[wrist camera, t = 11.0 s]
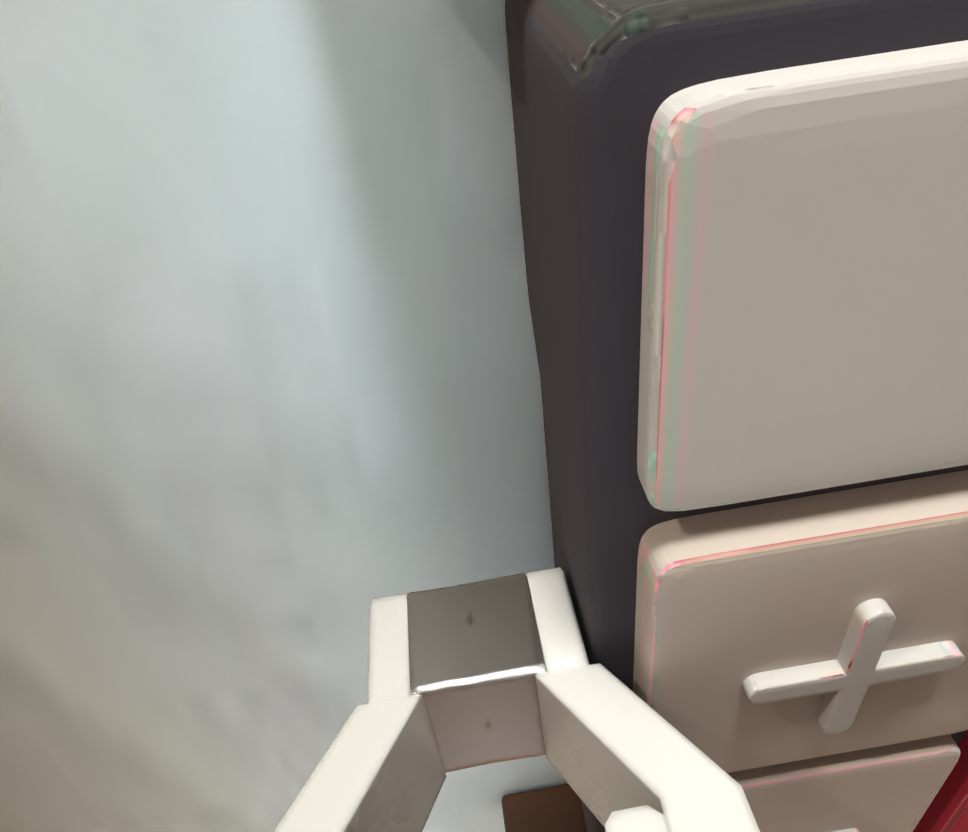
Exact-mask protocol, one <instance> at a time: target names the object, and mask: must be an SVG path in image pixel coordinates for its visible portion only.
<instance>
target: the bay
mask: <svg viewBox="0 0 968 832" xmlns="http://www.w3.org/2000/svg"><path fill="white" fill-rule="evenodd" d="M502 808H503V815H504V823H505V831H506V832H587V827H586V822H585V818H584V813H583V808H582V804H581V799H580V798H579V796H578V795H577V794H576V793H575V792H574V790H573V789H572V788H571V787H570V786H569V784H566V785H560V786H555V787H549V788H544V789H538V790H533V791H527V792H522V793H516V794H511V795H505V796H503V797H502Z"/></svg>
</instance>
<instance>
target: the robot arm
mask: <svg viewBox="0 0 968 832" xmlns="http://www.w3.org/2000/svg"><path fill="white" fill-rule="evenodd" d="M541 755H546V758H547V759H548V760H549V762H550V763H551V764H552V765H553V766H554V768H555V769H556V770H557V771H558V772H559V774H560V775H561V776H562V777H563V778H564V780H565V781H566V782H567V783H568V784H569V786H570V787H571V788H572V789H573V790H574V792H575V793H576V794H577V795H578V796H579V798H580V799H581V800H582V801H583V802H584V804H585V805H586V806H587V807H588V808H589V810H590V811H591V812H592V813H593V814H594V816H595V817H596V818H597V819H598V820H599V822H600V823H601V824H602V825H603V826H604V828H605V832H760V830H759V828H758V825H757V823H756V820H755V818H754V815H753V813H752V811H751V808H750V806H749V803H748V801H747V798H746V796H745V793H744V791H743V789H742V786H741V785H740V784H739V783H738V782H736V781H735V780H734V779H733V778H732V777H731V776H729V775H728V774H727V773H726V772H725V771H724V770H723V769H721V768H720V767H719V766H718V765H717V764H716V763H715V762H713V761H712V760H711V759H710V758H709V757H708V756H706V755H705V754H704V753H703V752H702V751H701V750H700V749H698V748H697V747H696V746H695V745H694V744H693V743H691V742H690V741H689V740H688V739H687V738H686V737H685V736H683V735H682V734H681V733H680V732H679V731H678V730H677V729H675V728H674V727H673V726H672V725H671V724H670V723H668V722H667V721H666V720H665V719H664V718H663V717H662V716H660V715H659V714H658V713H657V712H656V711H655V710H653V709H652V708H651V707H650V706H649V705H648V704H647V703H645V702H644V701H643V700H642V699H641V698H640V697H638V696H637V695H636V694H635V693H634V692H633V691H632V690H630V689H629V688H628V687H627V686H626V685H625V684H624V683H622V682H621V681H620V680H619V679H618V678H617V677H615V676H614V675H613V674H612V673H611V672H610V671H609V670H607V669H606V668H605V667H604V666H603V665H602V664H600V663H598V664H591V665H589V662H588V658H587V654H586V651H585V647H584V643H583V640H582V636H581V632H580V629H579V625H578V622H577V618H576V614H575V611H574V607H573V603H572V600H571V596H570V592H569V589H568V585H567V581H566V578H565V574H564V572H563V570H562V569H561V568H560V567H559V568H553V569H547V570H541V571H536V572H530V573H526V576H525V573H522V574H516V575H511V576H505V577H500V578H494V579H489V580H483V581H478V582H473V583H467V584H462V585H457V586H453V587H446V588H439V589H432V590H425V591H418V592H411V593H407V594H400V595H394V596H387V597H381V598H374V599H373V600H372V604H371V607H370V626H369V666H368V703H366V704H361V705H357V706H356V707H355V709H354V710H353V712H352V713H351V715H350V716H349V718H348V719H347V721H346V722H345V724H344V725H343V727H342V729H341V730H340V732H339V733H338V735H337V736H336V738H335V739H334V741H333V742H332V744H331V745H330V747H329V748H328V750H327V751H326V753H325V754H324V756H323V757H322V759H321V760H320V762H319V763H318V765H317V766H316V768H315V769H314V771H313V772H312V774H311V776H310V777H309V779H308V780H307V782H306V783H305V785H304V786H303V788H302V789H301V791H300V792H299V794H298V795H297V797H296V798H295V800H294V801H293V803H292V804H291V806H290V807H289V809H288V810H287V812H286V813H285V815H284V816H283V818H282V819H281V821H280V823H279V824H278V826H277V827H276V829H275V830H274V832H422V831H423V828H424V826H425V824H426V821H427V819H428V817H429V814H430V812H431V810H432V808H433V805H434V803H435V801H436V798H437V796H438V794H439V792H440V789H441V787H442V785H443V782H444V780H445V778H446V775H445V772H450V771H455V770H460V769H465V768H469V767H474V766H479V765H484V764H489V763H494V762H500V761H507V760H514V759H521V758H527V757H534V756H541Z"/></svg>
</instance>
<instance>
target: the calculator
mask: <svg viewBox="0 0 968 832" xmlns="http://www.w3.org/2000/svg"><path fill="white" fill-rule="evenodd" d="M505 17H506V32H507V46H508V60H509V73H510V85H511V96H512V108H513V120H514V132H515V144H516V155H517V167H518V179H519V191H520V203H521V214H522V226H523V238H524V250H525V262H526V273H527V284H528V294H529V302H530V309H531V316H532V323H533V330H534V337H535V343H536V350H537V357H538V364H539V371H540V378H541V389H542V403H543V416H544V429H545V442H546V455H547V468H548V481H549V494H550V507H551V520H552V533H553V546H554V559H555V568H559V567H560V568H561V569H562V570H563V572H564V574H565V578H566V581H567V585H568V589H569V592H570V596H571V600H572V603H573V607H574V611H575V614H576V618H577V622H578V625H579V629H580V632H581V636H582V640H583V643H584V647H585V651H586V654H587V658H588V662H589V665H591V664H598V663H600V664H602V665H603V666H604V667H605V668H606V669H607V670H609V671H610V672H611V673H612V674H613V675H614V676H615V677H617V678H618V679H619V680H620V681H621V682H622V683H624V684H625V685H626V686H627V687H628V688H629V689H630V690H632V691H633V692H634V693H635V694H636V695H637V696H638V697H640V698H641V699H642V700H643V701H644V702H645V703H647V704H648V705H649V706H650V707H651V708H652V709H653V710H655V711H656V712H657V713H658V714H659V715H660V716H662V717H663V718H664V719H665V720H666V721H667V722H668V723H670V724H671V725H672V726H673V727H674V728H675V729H677V730H678V731H679V732H680V733H681V734H682V735H683V736H685V737H686V738H687V739H688V740H689V741H690V742H691V743H693V744H694V745H695V746H696V747H697V748H698V749H700V750H701V751H702V752H703V753H704V754H705V755H706V756H708V757H709V758H710V759H711V760H712V761H713V762H715V763H716V764H717V765H718V766H719V767H720V768H721V769H723V770H724V771H725V772H726V773H727V774H728V775H729V776H731V777H732V778H733V779H734V780H735V781H736V782H738V783H739V784H740V785H741V786H742V789H743V791H744V793H745V796H746V798H747V801H748V803H749V806H750V808H751V811H752V813H753V815H754V818H755V820H756V823H757V825H758V828H759V830H760V832H968V0H506V1H505ZM581 804H582V808H583V813H584V818H585V822H586V827H587V832H605V828H604V826H603V825H602V824H601V823H600V822H599V820H598V819H597V818H596V817H595V816H594V814H593V813H592V812H591V811H590V810H589V808H588V807H587V806H586V805H585V804H584V802H583V801H582V800H581Z"/></svg>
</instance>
